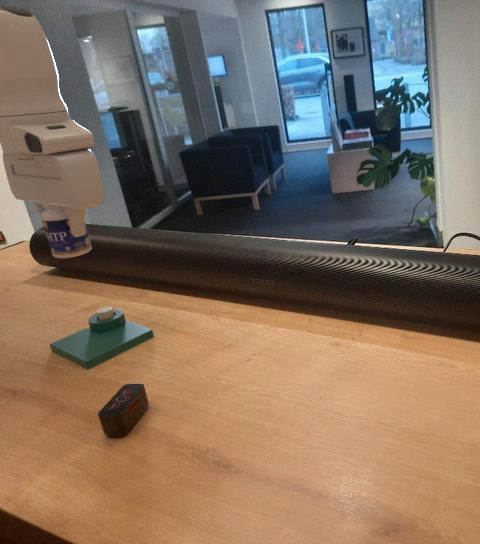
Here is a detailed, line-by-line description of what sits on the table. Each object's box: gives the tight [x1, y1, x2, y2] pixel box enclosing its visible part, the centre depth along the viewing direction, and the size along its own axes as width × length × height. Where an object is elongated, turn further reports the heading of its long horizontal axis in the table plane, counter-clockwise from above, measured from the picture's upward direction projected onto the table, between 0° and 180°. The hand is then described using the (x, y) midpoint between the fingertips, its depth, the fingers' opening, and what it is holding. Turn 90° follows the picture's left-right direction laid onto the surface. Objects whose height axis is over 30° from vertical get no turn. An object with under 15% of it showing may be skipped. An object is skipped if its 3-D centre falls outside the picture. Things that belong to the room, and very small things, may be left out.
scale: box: [49, 308, 155, 370], centre depth 79 cm, size 11×11×3 cm
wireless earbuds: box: [97, 383, 150, 437], centre depth 60 cm, size 5×7×3 cm, turn 175°
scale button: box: [95, 306, 114, 320], centre depth 82 cm, size 2×2×2 cm
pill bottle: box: [40, 198, 93, 259], centre depth 72 cm, size 5×5×9 cm
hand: (66, 233), depth 73 cm, fingers closed on pill bottle, 5 cm apart
